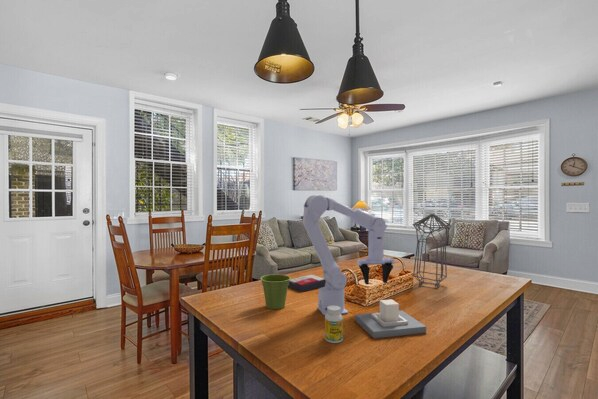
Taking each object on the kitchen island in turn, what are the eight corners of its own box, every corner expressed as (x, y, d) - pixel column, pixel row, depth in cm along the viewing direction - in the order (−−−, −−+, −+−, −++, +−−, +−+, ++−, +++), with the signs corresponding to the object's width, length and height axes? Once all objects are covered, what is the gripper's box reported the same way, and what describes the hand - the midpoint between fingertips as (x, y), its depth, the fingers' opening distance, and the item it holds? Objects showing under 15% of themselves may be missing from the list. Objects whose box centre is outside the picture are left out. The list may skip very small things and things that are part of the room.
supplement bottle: (339, 334, 95) (339, 303, 95) (345, 342, 90) (345, 310, 90) (322, 336, 94) (322, 305, 94) (328, 344, 88) (328, 311, 88)
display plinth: (373, 338, 92) (373, 328, 92) (355, 320, 106) (355, 311, 106) (426, 332, 96) (426, 323, 96) (401, 315, 110) (401, 307, 110)
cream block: (386, 323, 99) (386, 304, 98) (379, 318, 103) (379, 300, 103) (398, 322, 99) (398, 303, 99) (391, 317, 104) (391, 299, 104)
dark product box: (287, 279, 146) (311, 273, 155) (287, 288, 146) (311, 281, 155) (301, 284, 137) (326, 277, 146) (301, 294, 137) (326, 286, 146)
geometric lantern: (417, 279, 159) (419, 212, 159) (450, 285, 150) (453, 214, 149) (408, 286, 146) (411, 213, 146) (444, 293, 137) (447, 215, 137)
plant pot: (297, 306, 119) (297, 277, 119) (274, 314, 111) (274, 283, 110) (276, 299, 127) (276, 272, 127) (253, 306, 119) (254, 277, 119)
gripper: (362, 250, 113) (362, 287, 113) (398, 249, 116) (398, 284, 116) (355, 247, 120) (355, 281, 120) (389, 246, 123) (389, 279, 123)
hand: (375, 283), depth 118 cm, fingers open, 7 cm apart
